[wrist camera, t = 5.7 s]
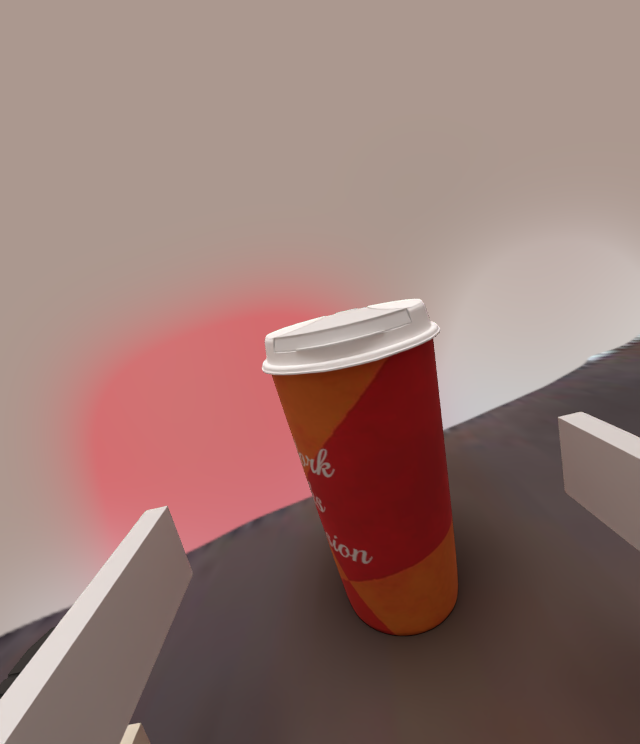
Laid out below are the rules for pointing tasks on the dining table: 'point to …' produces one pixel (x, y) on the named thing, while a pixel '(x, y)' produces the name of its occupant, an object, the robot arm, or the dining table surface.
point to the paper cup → (374, 456)
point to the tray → (135, 735)
